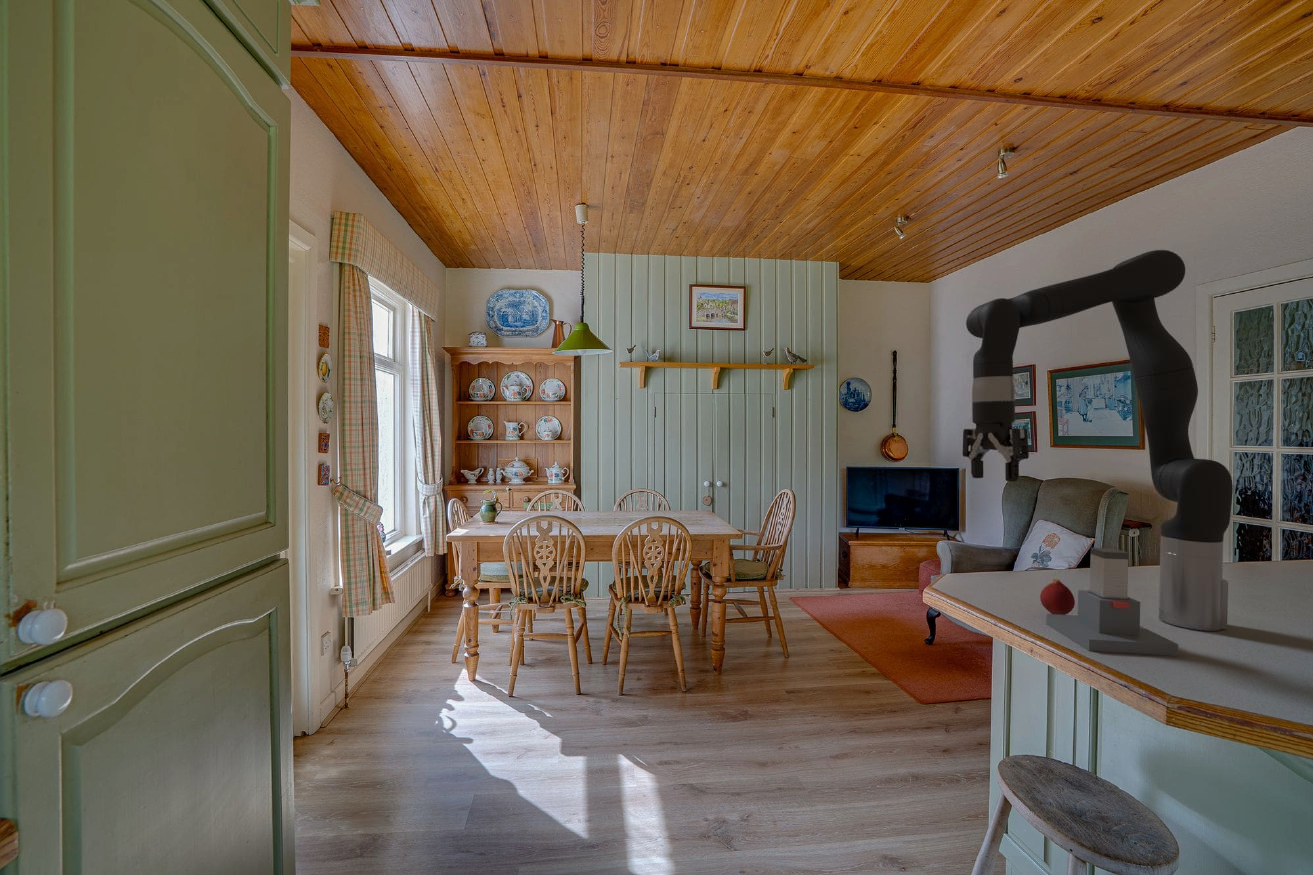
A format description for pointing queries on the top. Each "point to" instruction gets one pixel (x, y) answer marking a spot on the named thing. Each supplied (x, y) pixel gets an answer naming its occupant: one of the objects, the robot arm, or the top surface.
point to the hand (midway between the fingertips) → (994, 479)
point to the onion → (1057, 598)
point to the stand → (1110, 627)
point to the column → (1109, 573)
